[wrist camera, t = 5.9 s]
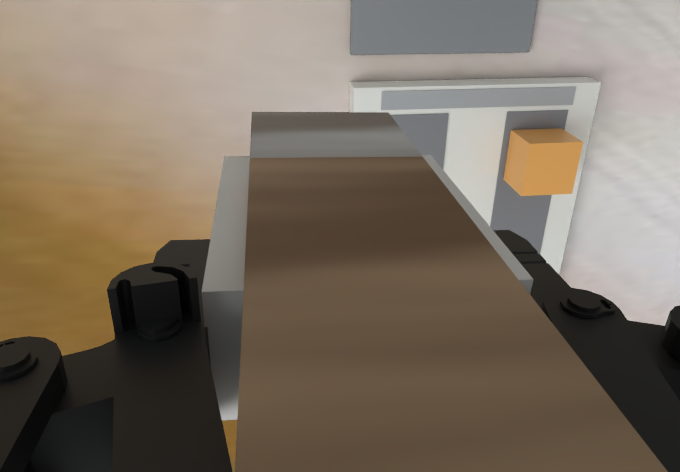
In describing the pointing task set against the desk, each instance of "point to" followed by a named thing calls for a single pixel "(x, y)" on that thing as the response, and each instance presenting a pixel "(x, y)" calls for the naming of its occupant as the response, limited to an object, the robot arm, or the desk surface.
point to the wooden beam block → (397, 323)
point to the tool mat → (441, 26)
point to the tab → (542, 161)
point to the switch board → (491, 141)
